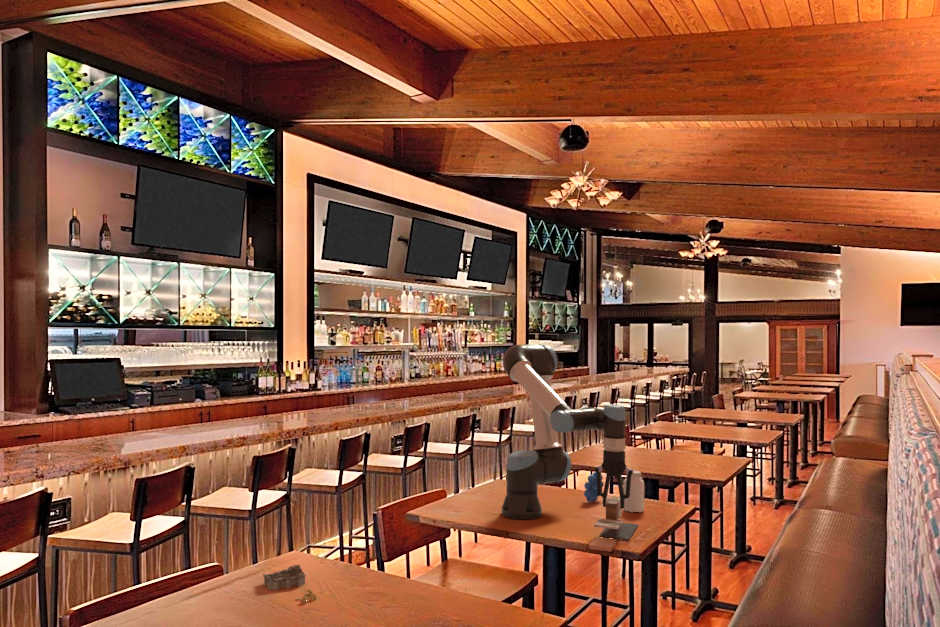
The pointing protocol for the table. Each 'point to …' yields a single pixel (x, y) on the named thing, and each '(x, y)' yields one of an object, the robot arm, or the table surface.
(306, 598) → the olive irregular clump
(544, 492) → the table surface
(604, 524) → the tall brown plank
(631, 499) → the pill bottle
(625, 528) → the mat
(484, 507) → the table surface
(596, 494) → the grapes
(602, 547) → the tile
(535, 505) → the robot arm
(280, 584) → the grey textured block
